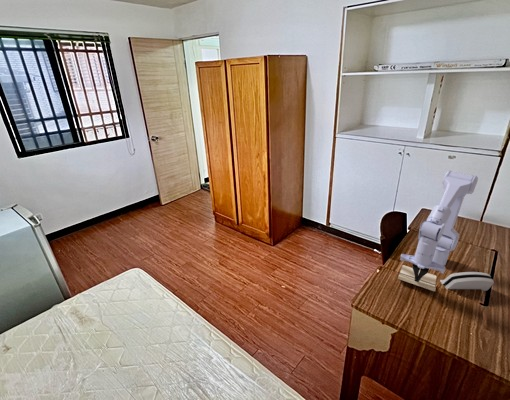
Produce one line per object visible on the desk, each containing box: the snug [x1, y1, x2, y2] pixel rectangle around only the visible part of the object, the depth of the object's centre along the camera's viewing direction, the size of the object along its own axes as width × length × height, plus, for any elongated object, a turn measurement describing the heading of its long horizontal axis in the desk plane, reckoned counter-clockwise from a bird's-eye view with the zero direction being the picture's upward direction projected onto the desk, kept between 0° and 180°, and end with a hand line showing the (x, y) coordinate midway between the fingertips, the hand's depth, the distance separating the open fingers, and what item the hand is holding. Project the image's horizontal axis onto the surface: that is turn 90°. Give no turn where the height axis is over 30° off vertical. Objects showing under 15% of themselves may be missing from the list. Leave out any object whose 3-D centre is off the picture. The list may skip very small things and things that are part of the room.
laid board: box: [399, 264, 437, 286], centre depth 116 cm, size 7×13×1 cm, turn 55°
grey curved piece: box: [439, 271, 495, 292], centre depth 107 cm, size 17×5×10 cm, turn 88°
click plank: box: [397, 273, 437, 292], centre depth 110 cm, size 7×13×1 cm, turn 56°
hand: (416, 280), depth 107 cm, fingers closed
